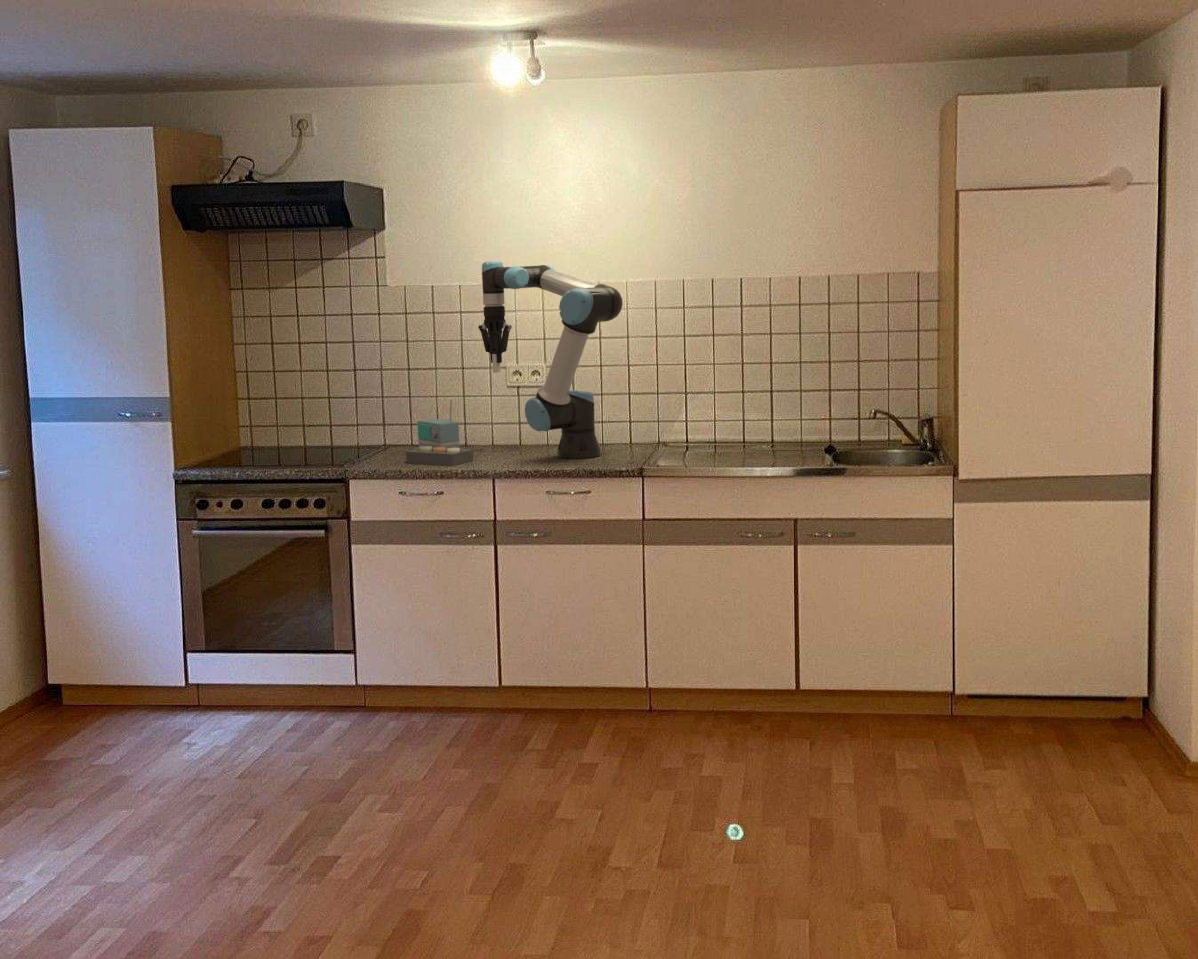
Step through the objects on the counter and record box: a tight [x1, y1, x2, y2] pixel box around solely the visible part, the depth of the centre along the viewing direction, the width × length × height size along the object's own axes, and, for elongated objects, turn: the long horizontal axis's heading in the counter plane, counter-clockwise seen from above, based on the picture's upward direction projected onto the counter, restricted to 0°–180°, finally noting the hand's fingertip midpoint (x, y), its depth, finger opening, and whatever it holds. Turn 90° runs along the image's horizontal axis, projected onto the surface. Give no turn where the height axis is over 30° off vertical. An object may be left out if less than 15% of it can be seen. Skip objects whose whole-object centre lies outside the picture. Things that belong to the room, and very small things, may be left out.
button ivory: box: [447, 448, 461, 453], centre depth 508 cm, size 4×4×2 cm
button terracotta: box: [433, 447, 446, 452], centre depth 511 cm, size 4×4×2 cm
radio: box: [416, 399, 461, 449], centre depth 530 cm, size 16×9×20 cm, turn 37°
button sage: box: [418, 446, 432, 451], centre depth 514 cm, size 4×4×2 cm
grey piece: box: [405, 447, 475, 467], centre depth 511 cm, size 20×12×4 cm, turn 59°
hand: (496, 372), depth 522 cm, fingers closed
